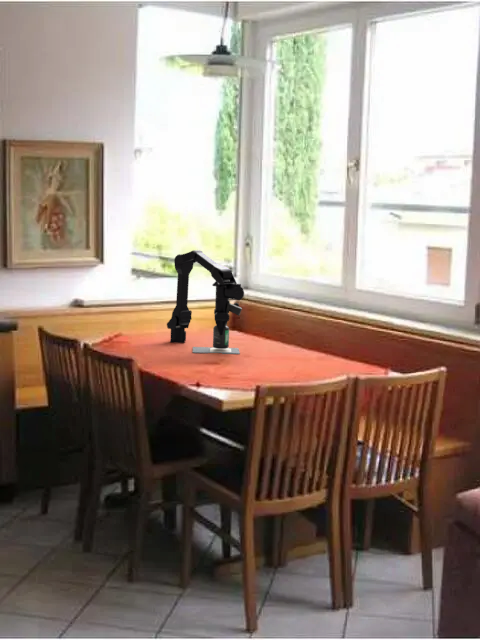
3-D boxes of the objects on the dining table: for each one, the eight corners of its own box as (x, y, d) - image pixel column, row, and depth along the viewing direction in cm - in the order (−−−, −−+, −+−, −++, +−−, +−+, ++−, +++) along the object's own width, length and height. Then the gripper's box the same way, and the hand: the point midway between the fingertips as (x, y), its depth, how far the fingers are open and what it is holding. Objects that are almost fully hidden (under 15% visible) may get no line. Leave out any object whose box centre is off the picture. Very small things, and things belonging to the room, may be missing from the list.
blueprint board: (192, 353, 401) (192, 351, 401) (192, 347, 413) (192, 346, 413) (239, 354, 402) (239, 353, 401) (238, 348, 414) (238, 347, 414)
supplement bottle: (230, 348, 405) (231, 320, 404) (215, 349, 403) (216, 321, 401) (226, 346, 412) (226, 318, 410) (210, 346, 410) (211, 318, 408)
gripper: (242, 301, 395) (240, 337, 398) (240, 295, 414) (238, 330, 416) (215, 300, 395) (214, 337, 397) (214, 294, 413) (213, 329, 416)
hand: (221, 333), depth 407 cm, fingers closed on supplement bottle, 7 cm apart
